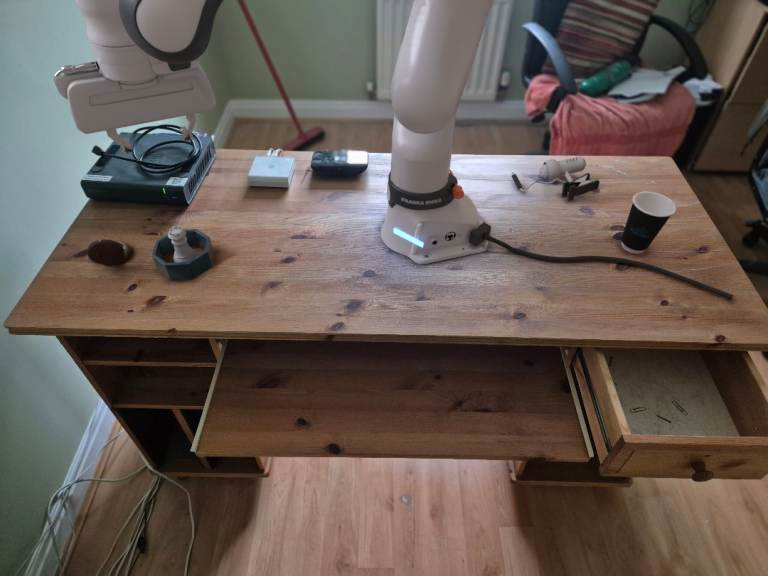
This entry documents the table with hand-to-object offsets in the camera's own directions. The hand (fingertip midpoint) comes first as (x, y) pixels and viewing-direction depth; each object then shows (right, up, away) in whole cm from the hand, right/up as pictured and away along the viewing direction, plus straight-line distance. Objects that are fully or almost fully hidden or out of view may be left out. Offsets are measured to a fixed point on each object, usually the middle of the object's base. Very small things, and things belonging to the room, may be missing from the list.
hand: (158, 144), depth 80 cm
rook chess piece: (-2, -18, +18) cm, 25 cm away
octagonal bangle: (-2, -18, +17) cm, 25 cm away
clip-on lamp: (+76, +1, +38) cm, 85 cm away
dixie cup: (+88, -14, +24) cm, 93 cm away
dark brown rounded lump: (-18, -17, +18) cm, 30 cm away
